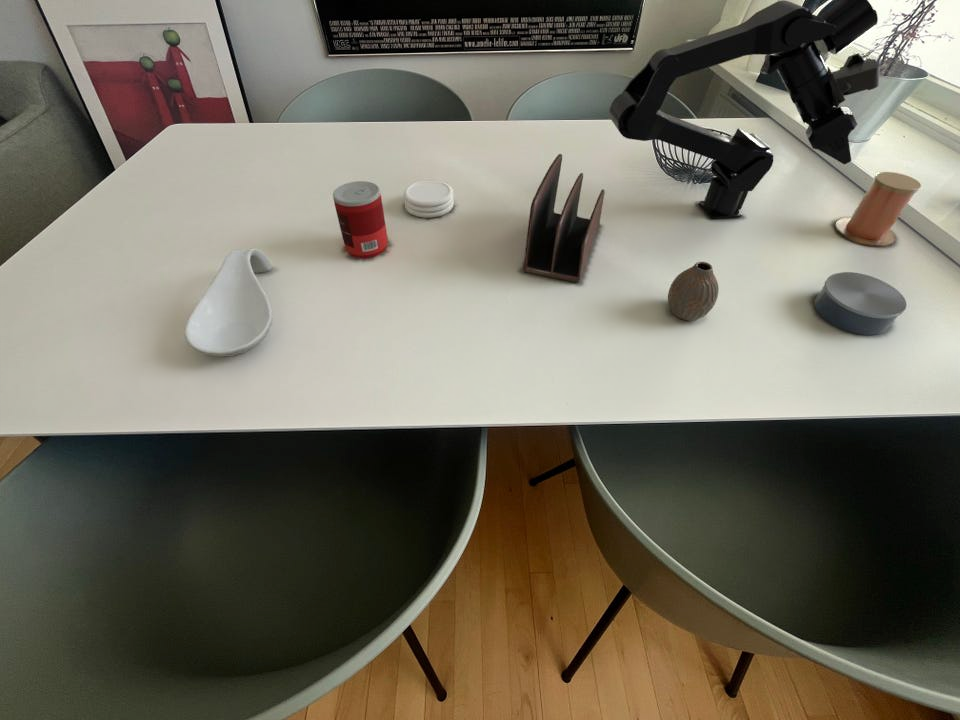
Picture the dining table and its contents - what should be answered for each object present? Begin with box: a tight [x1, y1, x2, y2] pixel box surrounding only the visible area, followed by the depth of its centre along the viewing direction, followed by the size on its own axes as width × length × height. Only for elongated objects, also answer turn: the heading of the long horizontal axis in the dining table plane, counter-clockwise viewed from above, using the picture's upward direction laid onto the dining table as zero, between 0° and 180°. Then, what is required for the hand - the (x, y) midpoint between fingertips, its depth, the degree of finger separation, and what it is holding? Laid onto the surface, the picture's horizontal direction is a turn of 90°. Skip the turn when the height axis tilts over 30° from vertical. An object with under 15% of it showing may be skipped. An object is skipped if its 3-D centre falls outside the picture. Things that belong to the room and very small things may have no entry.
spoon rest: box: [184, 248, 273, 357], centre depth 73 cm, size 24×12×7 cm, turn 9°
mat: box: [834, 216, 896, 248], centre depth 92 cm, size 10×10×1 cm
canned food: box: [332, 180, 389, 260], centre depth 84 cm, size 8×8×11 cm
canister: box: [846, 171, 922, 240], centre depth 89 cm, size 7×7×10 cm
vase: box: [667, 261, 720, 321], centre depth 73 cm, size 7×7×9 cm
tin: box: [813, 271, 907, 336], centre depth 74 cm, size 11×11×4 cm
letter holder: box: [522, 153, 606, 283], centre depth 83 cm, size 10×20×14 cm, turn 160°
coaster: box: [403, 179, 455, 219], centre depth 98 cm, size 10×10×4 cm
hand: (842, 151), depth 86 cm, fingers open, 9 cm apart
